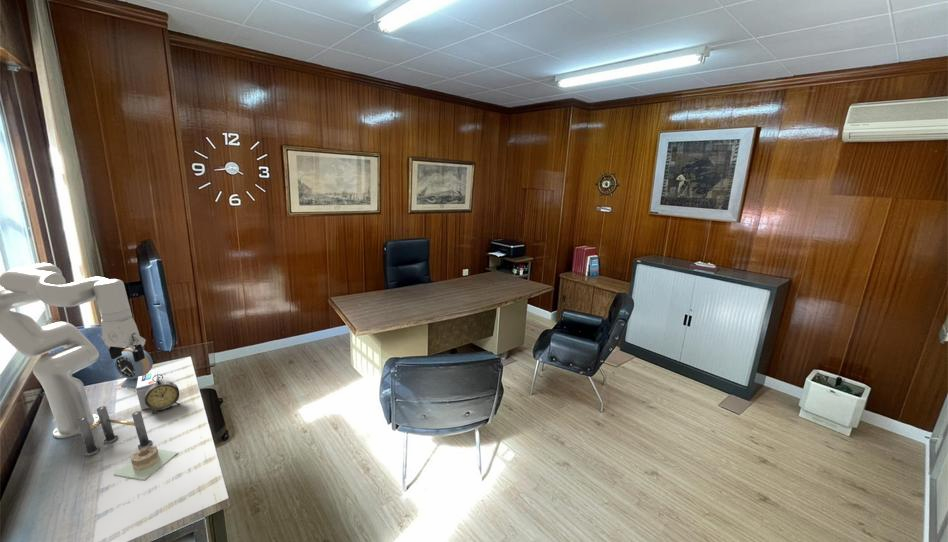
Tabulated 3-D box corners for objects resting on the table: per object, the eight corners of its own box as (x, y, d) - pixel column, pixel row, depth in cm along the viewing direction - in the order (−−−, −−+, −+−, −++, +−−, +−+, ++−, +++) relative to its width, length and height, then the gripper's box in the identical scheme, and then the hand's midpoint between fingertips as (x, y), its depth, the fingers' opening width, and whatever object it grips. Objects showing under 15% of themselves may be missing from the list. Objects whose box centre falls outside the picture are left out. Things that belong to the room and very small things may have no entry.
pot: (128, 468, 123) (125, 459, 122) (148, 454, 130) (145, 445, 129) (145, 471, 123) (142, 461, 121) (163, 456, 129) (161, 447, 128)
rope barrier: (81, 455, 129) (70, 422, 125) (112, 435, 138) (102, 404, 134) (126, 463, 126) (116, 429, 122) (155, 442, 136) (146, 410, 132)
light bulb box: (143, 397, 161) (137, 376, 158) (162, 392, 165) (157, 371, 162) (140, 410, 153) (134, 388, 150) (161, 404, 157) (156, 382, 154)
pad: (113, 475, 121) (113, 474, 121) (149, 448, 133) (149, 447, 133) (144, 480, 120) (144, 479, 120) (178, 453, 131) (178, 452, 131)
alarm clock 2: (148, 416, 149) (139, 382, 145) (148, 410, 153) (139, 376, 148) (182, 405, 156) (174, 372, 152) (181, 399, 160) (173, 367, 155)
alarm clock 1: (115, 386, 169) (105, 351, 164) (137, 374, 178) (128, 341, 173) (141, 389, 166) (131, 355, 161) (162, 377, 176) (153, 344, 171)
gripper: (83, 316, 124) (96, 361, 129) (126, 321, 121) (138, 366, 126) (107, 308, 131) (119, 351, 136) (148, 312, 129) (159, 355, 133)
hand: (128, 358), depth 131 cm, fingers open, 9 cm apart
